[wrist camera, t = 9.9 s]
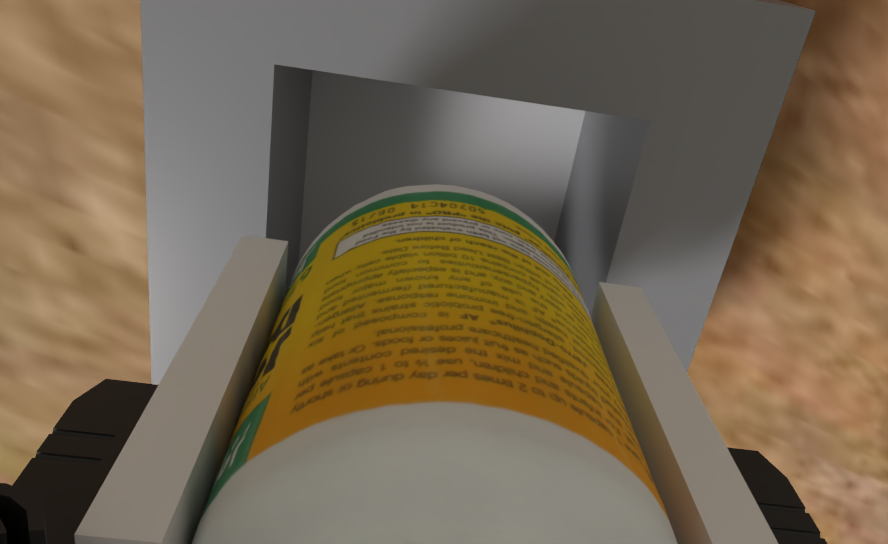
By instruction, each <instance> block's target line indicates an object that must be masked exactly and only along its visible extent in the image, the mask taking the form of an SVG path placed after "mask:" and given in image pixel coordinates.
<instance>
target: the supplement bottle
mask: <svg viewBox="0 0 888 544" xmlns="http://www.w3.org/2000/svg"><path fill="white" fill-rule="evenodd" d="M192 544H678V543H677V540H676V538H675V535H674V532H673V529H672V527H671V524H670V521H669V518H668V516H667V513H666V510H665V507H664V504H663V502H662V500H661V497H660V495H659V493H658V490H657V488H656V486H655V483H654V481H653V478H652V476H651V473H650V470H649V468H648V465H647V462H646V460H645V457H644V455H643V452H642V449H641V447H640V444H639V442H638V439H637V437H636V435H635V432H634V430H633V427H632V425H631V422H630V420H629V417H628V414H627V412H626V409H625V406H624V404H623V401H622V398H621V396H620V393H619V391H618V388H617V386H616V383H615V381H614V378H613V375H612V373H611V370H610V368H609V365H608V363H607V360H606V358H605V355H604V352H603V349H602V346H601V344H600V341H599V339H598V336H597V333H596V331H595V328H594V325H593V322H592V320H591V317H590V314H589V311H588V309H587V307H586V305H585V303H584V299H583V296H582V293H581V291H580V288H579V286H578V284H577V282H576V280H575V277H574V274H573V272H572V270H571V268H570V266H569V264H568V262H567V260H566V259H565V257H564V255H563V254H562V252H561V251H560V249H559V248H558V247H557V246H556V244H555V243H554V242H553V240H552V239H551V238H550V237H549V236H548V235H547V234H546V233H545V231H544V230H543V229H542V228H541V227H540V226H538V225H537V224H536V223H535V222H534V221H533V220H532V219H531V218H529V217H528V216H527V215H525V214H524V213H523V212H521V211H520V210H518V209H517V208H515V207H514V206H512V205H510V204H509V203H507V202H505V201H503V200H501V199H499V198H497V197H494V196H492V195H489V194H486V193H484V192H481V191H477V190H472V189H468V188H464V187H459V186H453V185H440V184H432V185H415V186H405V187H400V188H395V189H391V190H387V191H385V192H382V193H380V194H378V195H375V196H373V197H371V198H369V199H367V200H365V201H363V202H361V203H359V204H357V205H355V206H353V207H352V208H350V209H349V210H348V211H346V212H345V213H343V214H342V215H341V216H339V217H338V218H337V219H335V220H334V221H333V222H332V223H330V224H329V225H328V226H327V227H326V228H325V229H324V230H323V231H322V232H321V233H320V234H319V236H318V237H317V238H316V239H315V240H314V241H313V242H312V244H311V245H310V246H309V248H308V249H307V251H306V252H305V254H304V255H303V257H302V259H301V260H300V262H299V264H298V266H297V268H296V270H295V272H294V275H293V277H292V280H291V283H290V285H289V288H288V290H287V293H286V295H285V298H284V300H283V303H282V306H281V309H280V312H279V314H278V317H277V320H276V322H275V325H274V328H273V330H272V333H271V336H270V338H269V341H268V343H267V346H266V350H265V353H264V356H263V359H262V360H261V362H260V364H259V367H258V370H257V373H256V375H255V378H254V381H253V384H252V387H251V389H250V392H249V394H248V397H247V399H246V402H245V404H244V407H243V409H242V412H241V415H240V417H239V420H238V422H237V425H236V427H235V430H234V433H233V435H232V438H231V441H230V444H229V446H228V449H227V451H226V454H225V456H224V458H223V461H222V464H221V467H220V469H219V472H218V475H217V477H216V480H215V482H214V485H213V488H212V490H211V493H210V496H209V498H208V501H207V503H206V506H205V508H204V511H203V514H202V516H201V519H200V521H199V524H198V526H197V529H196V531H195V534H194V538H193V541H192Z"/></svg>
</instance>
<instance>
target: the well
mask: <svg viewBox="0 0 888 544" xmlns="http://www.w3.org/2000/svg"><path fill="white" fill-rule="evenodd" d="M815 12H816V11H815V10H812V9H809V8H805V7H802V6H798V5H795V4H791V3H788V2H785V1H781V0H141V31H142V66H143V101H144V136H145V171H146V206H147V241H148V276H149V311H150V346H151V381H152V384H155V385H159V383H160V382H161V380H162V378H163V376H164V374H165V373H166V371H167V369H168V367H169V366H170V364H171V362H172V360H173V358H174V357H175V355H176V353H177V351H178V350H179V348H180V346H181V344H182V342H183V341H184V339H185V337H186V335H187V334H188V332H189V330H190V328H191V326H192V325H193V323H194V321H195V319H196V318H197V316H198V314H199V312H200V311H201V309H202V307H203V305H204V303H205V302H206V300H207V298H208V296H209V295H210V293H211V291H212V289H213V287H214V286H215V284H216V282H217V280H218V279H219V277H220V275H221V273H222V271H223V270H224V268H225V266H226V264H227V263H228V261H229V259H230V257H231V256H232V254H233V252H234V250H235V248H236V247H237V245H238V243H239V241H240V240H241V238H242V236H243V235H245V236H252V237H260V238H268V239H275V240H283V241H288V254H287V270H286V286H285V295H286V293H287V290H288V288H289V285H290V283H291V280H292V277H293V275H294V272H295V270H296V268H297V266H298V264H299V262H300V260H301V259H302V257H303V255H304V254H305V252H306V251H307V249H308V248H309V246H310V245H311V244H312V242H313V241H314V240H315V239H316V238H317V237H318V236H319V234H320V233H321V232H322V231H323V230H324V229H325V228H326V227H327V226H328V225H329V224H330V223H332V222H333V221H334V220H335V219H337V218H338V217H339V216H341V215H342V214H343V213H345V212H346V211H348V210H349V209H350V208H352V207H353V206H355V205H357V204H359V203H361V202H363V201H365V200H367V199H369V198H371V197H373V196H375V195H378V194H380V193H382V192H385V191H387V190H391V189H395V188H400V187H405V186H415V185H432V184H440V185H453V186H459V187H464V188H468V189H472V190H477V191H481V192H484V193H486V194H489V195H492V196H494V197H497V198H499V199H501V200H503V201H505V202H507V203H509V204H510V205H512V206H514V207H515V208H517V209H518V210H520V211H521V212H523V213H524V214H525V215H527V216H528V217H529V218H531V219H532V220H533V221H534V222H535V223H536V224H537V225H538V226H540V227H541V228H542V229H543V230H544V231H545V233H546V234H547V235H548V236H549V237H550V238H551V239H552V240H553V242H554V243H555V244H556V246H557V247H558V248H559V249H560V251H561V252H562V254H563V255H564V257H565V259H566V260H567V262H568V264H569V266H570V268H571V270H572V272H573V274H574V277H575V280H576V282H577V284H578V286H579V288H580V291H581V293H582V296H583V299H584V303H585V305H586V307H587V309H588V311H589V314H590V313H591V310H592V306H593V302H594V299H595V295H596V292H597V288H598V284H599V282H603V283H611V284H618V285H626V286H633V287H641V288H642V290H643V292H644V294H645V295H646V297H647V299H648V301H649V303H650V305H651V307H652V309H653V310H654V312H655V314H656V316H657V318H658V320H659V322H660V323H661V325H662V327H663V329H664V331H665V333H666V335H667V337H668V338H669V340H670V342H671V344H672V346H673V348H674V350H675V351H676V353H677V355H678V357H679V359H680V361H681V363H682V365H683V366H684V368H685V370H686V372H687V371H688V368H689V365H690V362H691V359H692V357H693V354H694V351H695V348H696V345H697V343H698V340H699V337H700V334H701V331H702V329H703V326H704V323H705V320H706V317H707V315H708V312H709V309H710V306H711V303H712V301H713V298H714V295H715V292H716V289H717V287H718V284H719V281H720V278H721V275H722V273H723V270H724V267H725V264H726V261H727V259H728V256H729V253H730V250H731V247H732V245H733V242H734V239H735V236H736V233H737V231H738V228H739V225H740V222H741V219H742V217H743V214H744V211H745V208H746V205H747V203H748V200H749V197H750V194H751V191H752V189H753V186H754V183H755V180H756V177H757V175H758V172H759V169H760V166H761V163H762V161H763V158H764V155H765V152H766V149H767V147H768V144H769V141H770V138H771V135H772V133H773V130H774V127H775V124H776V121H777V119H778V116H779V113H780V110H781V107H782V105H783V102H784V99H785V96H786V93H787V91H788V88H789V85H790V82H791V79H792V77H793V74H794V71H795V68H796V65H797V63H798V60H799V57H800V54H801V52H802V49H803V46H804V43H805V40H806V38H807V35H808V32H809V29H810V26H811V24H812V21H813V18H814V15H815Z"/></svg>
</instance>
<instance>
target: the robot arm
mask: <svg viewBox="0 0 888 544" xmlns="http://www.w3.org/2000/svg"><path fill="white" fill-rule="evenodd" d="M287 254H288V241H283V240H275V239H268V238H260V237H252V236H245V235H243V236H242V238H241V240H240V241H239V243H238V245H237V247H236V248H235V250H234V252H233V254H232V256H231V257H230V259H229V261H228V263H227V264H226V266H225V268H224V270H223V271H222V273H221V275H220V277H219V279H218V280H217V282H216V284H215V286H214V287H213V289H212V291H211V293H210V295H209V296H208V298H207V300H206V302H205V303H204V305H203V307H202V309H201V311H200V312H199V314H198V316H197V318H196V319H195V321H194V323H193V325H192V326H191V328H190V330H189V332H188V334H187V335H186V337H185V339H184V341H183V342H182V344H181V346H180V348H179V350H178V351H177V353H176V355H175V357H174V358H173V360H172V362H171V364H170V366H169V367H168V369H167V371H166V373H165V374H164V376H163V378H162V380H161V382H160V383H159V385H155V384H146V383H137V382H128V381H120V380H111V379H105V380H104V381H102V382H101V383H99V384H98V385H96V386H95V387H93V388H92V389H90V390H89V391H87V392H86V393H84V394H83V395H81V396H80V397H78V398H77V399H75V400H74V401H73V402H72V403H71V404H70V406H69V407H68V409H67V410H66V411H65V413H64V414H63V416H62V417H61V418H60V420H59V421H58V423H57V424H56V425H55V427H54V428H53V433H52V434H49V435H48V437H47V438H46V439H45V441H44V442H43V444H42V445H41V446H40V448H39V449H38V451H37V454H36V457H35V458H32V459H31V460H30V462H29V463H28V465H27V466H26V467H25V469H24V470H23V472H22V473H21V474H20V476H19V477H18V479H17V480H16V481H15V483H14V484H13V485H12V486H11V485H9V484H5V483H0V544H192V541H193V538H194V534H195V531H196V529H197V526H198V524H199V521H200V519H201V516H202V514H203V511H204V508H205V506H206V503H207V501H208V498H209V496H210V493H211V490H212V488H213V485H214V482H215V480H216V477H217V475H218V472H219V469H220V467H221V464H222V461H223V458H224V456H225V454H226V451H227V449H228V446H229V444H230V441H231V438H232V435H233V433H234V430H235V427H236V425H237V422H238V420H239V417H240V415H241V412H242V409H243V407H244V404H245V402H246V399H247V397H248V394H249V392H250V389H251V387H252V384H253V381H254V378H255V375H256V373H257V370H258V367H259V364H260V362H261V360H262V359H263V356H264V353H265V350H266V346H267V343H268V341H269V338H270V336H271V333H272V330H273V328H274V325H275V322H276V320H277V317H278V314H279V312H280V309H281V306H282V303H283V300H284V298H285V286H286V270H287ZM590 317H591V320H592V322H593V325H594V328H595V331H596V333H597V336H598V339H599V341H600V344H601V346H602V349H603V352H604V355H605V358H606V360H607V363H608V365H609V368H610V370H611V373H612V375H613V378H614V381H615V383H616V386H617V388H618V391H619V393H620V396H621V398H622V401H623V404H624V406H625V409H626V412H627V414H628V417H629V420H630V422H631V425H632V427H633V430H634V432H635V435H636V437H637V439H638V442H639V444H640V447H641V449H642V452H643V455H644V457H645V460H646V462H647V465H648V468H649V470H650V473H651V476H652V478H653V481H654V483H655V486H656V488H657V490H658V493H659V495H660V497H661V500H662V502H663V504H664V507H665V510H666V513H667V516H668V518H669V521H670V524H671V527H672V529H673V532H674V535H675V538H676V540H677V543H678V544H827V542H826V541H825V539H822V538H820V531H819V529H818V528H817V526H816V524H815V523H814V521H813V520H812V518H811V516H810V515H809V513H805V506H804V505H803V503H802V502H801V500H800V498H799V497H798V495H797V493H796V492H795V490H794V488H793V487H792V485H791V484H790V482H789V480H788V479H787V477H785V476H784V475H783V474H782V473H781V472H780V471H779V470H778V469H777V468H776V467H775V466H773V465H772V464H771V463H770V462H769V461H768V460H767V459H766V458H765V457H764V456H763V455H761V454H760V453H759V452H758V451H752V450H744V449H735V448H727V447H726V445H725V443H724V441H723V439H722V437H721V435H720V434H719V432H718V430H717V428H716V426H715V424H714V422H713V421H712V419H711V417H710V415H709V413H708V411H707V409H706V407H705V406H704V404H703V402H702V400H701V398H700V396H699V394H698V393H697V391H696V389H695V387H694V385H693V383H692V381H691V379H690V378H689V376H688V374H687V372H686V370H685V368H684V366H683V365H682V363H681V361H680V359H679V357H678V355H677V353H676V351H675V350H674V348H673V346H672V344H671V342H670V340H669V338H668V337H667V335H666V333H665V331H664V329H663V327H662V325H661V323H660V322H659V320H658V318H657V316H656V314H655V312H654V310H653V309H652V307H651V305H650V303H649V301H648V299H647V297H646V295H645V294H644V292H643V290H642V288H641V287H633V286H626V285H618V284H611V283H603V282H599V284H598V288H597V292H596V295H595V299H594V302H593V306H592V310H591V313H590Z"/></svg>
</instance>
